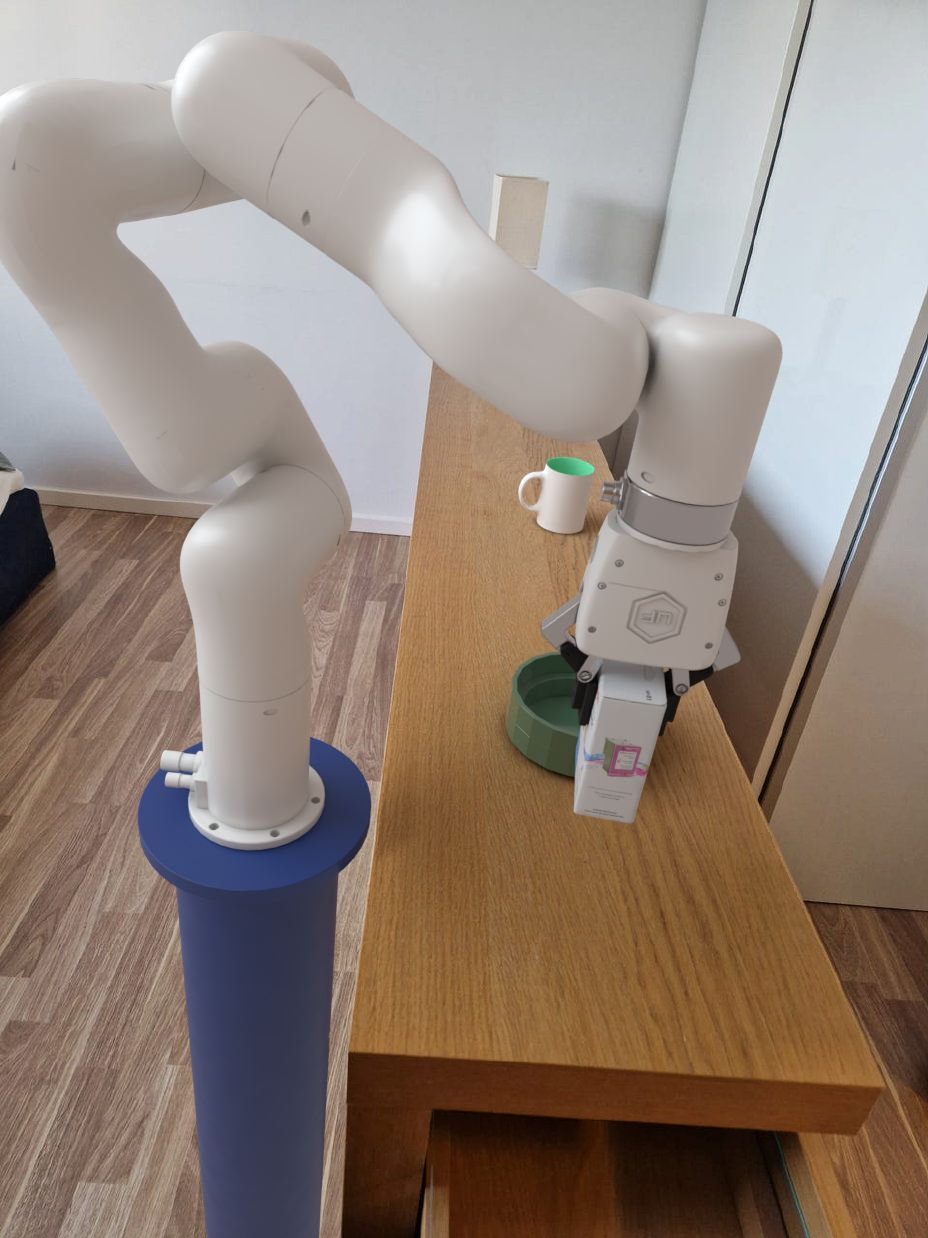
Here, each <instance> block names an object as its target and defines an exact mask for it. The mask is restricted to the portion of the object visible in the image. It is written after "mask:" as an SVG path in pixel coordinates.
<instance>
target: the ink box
mask: <svg viewBox="0 0 928 1238" xmlns="http://www.w3.org/2000/svg"><path fill="white" fill-rule="evenodd" d="M664 669H665V668H662V667H655V666H648V665H640V664H633V663H626V662H619V661H612V660H606V659H605V661H604V662H603V664H602V665H601V667H600V668H599V670H598V671H597V682H598V689H597V693H596V697H595V701H594V705H593V709H592V712H591V717H590V721H589V724H588V725H586V726H581V728H580V732H579V736H578V741H577V745H576V755H575V777H574V796H573V797H574V799H573V813H574V814H575V815H579V816H586V817H590V818H595V819H602V820H607V821H612V822H617V823H625V824H633V823H634V822H635V818H636V814H637V810H638V807H639V803H640V800H641V797H642V794H643V789H644V786H645V782H646V779H647V776H648V773H649V769H650V765H651V762H652V759H653V755H654V751H655V748H656V744H657V742H658V737H659V736H658V734H659V731H660V727H661V723H662V720H663V716H664V713H665V710H666V707H667V698H666V690H665V680H664V672H665V670H664Z"/></svg>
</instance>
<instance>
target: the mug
mask: <svg viewBox="0 0 928 1238" xmlns="http://www.w3.org/2000/svg"><path fill="white" fill-rule="evenodd" d="M595 471H596V470H595V467H594V466H593V465H592V464H591V463H589V462H587V461H585V460H582V459H580V458H576V457H570V456H556V457H551V458H549V459H547V460H546V462H545V467H544V469H543V470H541V471H533V472H532V471H531V472H530V473H527V474H526V475H525V476H524V477H523V478H522V479H521V482H520V483H519V486H518V495H517V496H518V500H519V502H520V504H521V506H522V507H523V508H524V509H525V510H527V511H529V512H531V513H537V514H536V522H537V524H538V526H539V527H541V528H543V529H544V530H547V531H550V532H553V533H557V534H564V535H566V534H569V535H571V534H577V533H579V532H581V531H582V530H583V529H584V526H585V519H586V515H587V510H588V506H589V501H590V500H589V499H590V495H591V491H592V485H593V481H594V475H595ZM533 479H539V480H540V481H541V490H540V495H539V497H538V501H537V502H536V503H535V504H532V505H531V504H527V503H526V502H525V501H524V497H523V496H524V495H523V494H524V489H525V486H526V485H527V484H528V482H529V481H531V480H533Z"/></svg>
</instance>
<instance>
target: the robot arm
mask: <svg viewBox="0 0 928 1238" xmlns="http://www.w3.org/2000/svg"><path fill="white" fill-rule="evenodd" d="M457 184H458V183H457V181H456V180H455V177H454V176H453V174H452V173H451V171H450V170H449V169H448V167H447V166H446V165H445V164H444V163H443V161H441V160H440V158H439V157H437V156H436V155H434V154H433V153H431V152H430V151H429V150H427V149H425V148H424V147H423V146H421V145H420V144H418V143H417V142H415V141H414V140H413V139H411V138H410V137H409V136H407V135H405V134H404V133H403V132H401V130H399V129H398V128H396V127H394V126H393V125H391V124H390V123H389V122H388V121H386V120H384V119H383V118H381V117H380V116H379V115H377V114H376V113H374V112H373V111H372V110H371V109H369V108H368V107H366V106H365V105H363V104H362V103H360V102H359V101H358V100H356V97H355V95H354V93H353V90H352V87H351V84H350V82H349V81H348V79H347V77H346V76H345V74H344V72H343V71H342V70H341V68H340V67H339V66H338V65H337V64H336V63H335V61H334V60H333V59H332V58H330V57H329V56H328V55H327V54H326V53H325V52H323V51H322V50H320V49H318V48H317V47H315V46H314V45H311V44H309V43H306V42H303V41H301V40H297V39H291V38H287V37H283V36H282V37H281V36H277V35H272V34H268V33H262V32H258V31H252V30H246V29H245V30H243V29H242V30H241V29H236V30H224V31H219V32H217V33H214V34H211V35H209V36H207V37H205V38H203V39H202V40H200V41H199V42H197V43H196V44H195V45H194V46H193V47H192V48H191V49H190V50H189V51H188V52H187V53H186V55H185V56H184V58H183V59H182V60H181V62H180V64H179V65H178V67H177V70H176V72H175V75H174V78H171V79H167V80H163V81H157V82H151V83H145V82H132V81H131V82H130V81H129V82H128V81H115V80H114V81H113V80H105V79H93V78H75V77H59V78H58V77H57V78H45V79H39V80H35V81H29V82H26V83H24V84H21V85H18V86H16V87H13V88H11V89H9V90H8V91H6V92H4V93H3V94H2V95H0V263H1V264H2V266H3V268H4V269H5V270H6V272H7V273H8V275H9V276H10V278H11V279H12V281H14V283H15V284H16V286H17V287H18V288H19V290H21V292H22V293H23V295H24V296H25V298H26V299H27V300H28V301H29V302H30V304H31V305H32V306H33V307H34V309H35V310H36V312H37V313H38V314H39V315H40V317H41V318H42V319H43V321H44V322H45V324H46V325H47V327H48V328H49V330H51V332H52V334H53V335H54V336H55V338H56V340H57V341H58V343H59V344H60V346H61V348H62V349H63V351H64V352H65V354H66V356H67V357H68V359H69V361H70V363H71V365H72V367H73V368H74V370H75V372H76V374H77V375H78V376H79V378H80V380H81V381H82V383H83V385H84V386H85V388H86V390H87V391H88V392H89V394H90V395H91V397H92V399H93V401H94V403H95V404H96V406H97V407H98V408H99V410H100V412H101V413H102V415H103V416H104V418H105V420H106V422H107V423H108V425H109V427H110V428H111V429H112V430H111V431H113V433H114V434H115V436H116V438H117V439H118V442H120V444H121V445H122V448H123V449H124V451H125V452H126V454H127V456H128V457H129V458H130V460H131V461H132V463H133V464H134V467H136V468H137V470H138V471H139V472H140V474H141V475H142V476H143V477H144V478H145V479H146V480H147V481H148V482H149V483H150V484H151V485H153V486H154V487H156V488H157V489H159V490H161V491H163V492H167V493H168V494H174V495H187V494H192V493H197V492H199V491H202V490H204V489H206V488H208V487H210V486H212V485H214V484H215V483H217V482H219V481H220V480H222V479H223V478H225V477H226V476H228V475H230V476H231V479H232V480H233V482H234V484H235V485H236V488H234V489H233V490H232V491H231V492H228V494H226V495H225V496H224V497H223V498H221V499H220V500H219V501H217V502H216V503H214V504H213V505H212V506H211V507H209V509H207V510H206V511H205V512H204V513H203V514H202V515H201V516H200V517H199V518H198V519H197V520H196V521H195V523H194V524H193V526H192V527H191V528H190V530H189V531H188V533H187V535H186V537H185V540H184V541H183V544H182V547H181V550H180V556H179V570H180V571H179V572H180V578H181V583H182V587H183V590H184V593H185V596H186V601H187V604H188V606H189V611H190V614H191V619H192V623H193V630H194V637H195V638H194V639H195V646H196V647H195V648H196V665H197V676H198V686H199V703H200V722H201V738H202V739H201V740H202V741H203V751H198V752H197V754H196V755H195V754H187V753H184V752H182V751H179V750H169V749H165V750H163V751H162V753H161V756H160V761H159V767H160V768H161V770H165V771H174V772H181V771H184V772H192V773H193V774H192V775H184V774H181V773H173V772H168V773H167V775H166V778H165V786H166V787H174V788H189V789H190V793H189V797H188V805H189V813H190V818H191V820H192V822H193V824H194V826H195V827H196V828H197V829H198V831H199V832H200V833H201V834H202V835H204V836H205V837H206V838H208V839H209V840H211V841H213V842H215V843H217V844H219V845H222V846H225V847H229V848H233V849H240V850H263V849H269V848H275V847H278V846H281V845H284V844H287V843H289V842H291V841H294V840H296V839H298V838H299V837H301V836H302V835H304V834H305V833H306V832H308V831H309V830H310V829H311V828H312V827H313V826H314V825H315V824H316V822H317V821H318V819H319V818H320V816H321V814H322V811H323V808H324V801H325V791H324V785H323V782H322V780H321V778H320V776H319V775H318V773H317V772H316V771H315V770H314V769H313V768H312V767H311V766H310V765H309V755H310V737H311V711H312V676H313V675H312V674H313V673H312V670H313V669H312V668H313V667H312V666H313V665H312V662H313V658H312V657H313V654H312V653H313V649H312V647H313V645H312V635H311V631H310V627H309V623H308V622H307V618H306V616H305V610H304V600H305V594H306V591H307V589H308V588H309V585H310V584H311V582H312V581H313V580H314V579H315V578H316V577H317V575H318V574H319V573H320V572H321V570H323V568H324V567H325V566H326V565H327V564H328V562H329V561H330V560H331V559H332V558H333V557H334V556H335V554H336V553H337V552H338V551H339V549H340V548H341V547H342V546H343V544H344V543H345V541H346V540H347V537H348V536H349V534H350V530H351V526H352V522H353V521H352V520H353V509H352V503H351V499H350V495H349V493H348V490H347V487H346V484H345V483H344V480H343V478H342V476H341V473H340V472H339V470H338V468H337V466H336V464H335V462H334V461H333V458H332V457H331V455H330V452H329V451H328V449H327V447H326V445H325V444H324V442H323V440H322V438H321V436H320V434H319V432H318V430H317V428H316V426H315V425H314V423H313V421H312V419H311V417H310V415H309V413H308V411H307V410H306V408H305V406H304V404H303V402H302V400H301V398H300V396H299V395H298V392H297V391H296V389H295V388H294V385H293V384H292V382H291V380H290V379H289V378H288V376H287V375H286V373H284V371H283V370H282V368H280V367H279V365H278V364H277V363H275V361H274V360H273V359H272V358H270V357H269V356H268V355H267V354H266V353H264V352H263V351H262V350H260V349H258V348H257V347H255V346H253V345H251V344H250V343H249V344H248V343H245V342H242V341H240V340H233V339H222V340H213V341H209V342H206V343H203V344H200V343H199V341H198V340H197V339H196V337H195V336H194V334H193V333H192V331H191V329H190V328H189V326H188V324H187V323H186V321H185V319H184V318H183V316H182V314H181V312H180V310H179V308H178V306H177V304H176V302H175V300H174V298H173V296H172V295H171V294H170V292H169V291H168V289H167V287H166V286H165V285H164V283H163V282H162V281H161V280H160V279H159V277H158V276H157V275H156V273H154V271H152V269H150V268H149V267H148V265H147V264H146V263H144V261H143V260H142V259H141V258H139V256H137V255H136V254H135V253H134V252H133V251H132V250H130V249H129V248H128V247H127V246H126V245H125V244H124V242H123V241H122V240H121V239H120V238H119V235H118V231H117V230H118V227H119V225H120V224H124V223H125V224H126V223H133V222H140V221H146V220H152V219H158V218H163V217H170V216H176V215H182V214H186V213H191V212H194V211H198V210H202V209H207V208H210V207H215V206H218V205H222V204H227V203H233V202H236V201H241V200H245V201H247V202H249V203H250V204H251V205H253V206H254V207H256V208H257V209H258V210H260V211H261V212H263V213H264V214H266V215H267V216H268V217H270V218H272V219H273V220H275V221H277V222H278V223H279V224H280V225H282V226H284V227H285V228H286V229H288V230H290V231H291V232H292V233H294V234H296V235H297V236H299V237H300V238H301V239H303V240H304V241H305V242H307V243H308V244H310V245H311V246H313V247H314V248H315V249H317V250H319V251H320V252H321V253H322V254H324V255H326V257H328V258H329V259H331V261H333V262H334V263H336V264H337V265H339V266H341V267H342V268H344V269H345V270H346V271H348V272H349V273H350V274H352V275H353V276H355V277H356V278H358V279H359V281H361V282H363V283H364V284H365V285H366V286H367V287H368V288H370V289H371V291H373V293H374V294H375V295H376V297H377V298H378V299H379V301H380V302H381V304H382V306H383V307H384V308H385V310H386V311H387V312H388V314H389V315H390V316H391V317H392V318H393V319H394V321H396V322H397V324H398V325H400V327H401V328H402V329H403V330H404V332H405V333H406V334H407V336H409V337H410V339H411V340H412V341H413V342H414V343H415V344H416V345H417V346H418V348H420V350H421V351H422V352H423V353H424V354H425V355H426V356H427V357H428V358H429V359H430V360H431V361H432V362H434V363H435V364H436V365H437V366H438V367H439V368H440V369H441V370H443V371H444V372H445V373H446V374H448V375H449V376H450V377H451V378H453V380H455V381H456V382H457V383H459V384H460V385H462V386H463V387H465V388H466V389H467V390H469V391H471V392H472V393H473V394H475V395H476V396H477V397H479V398H481V399H482V400H484V401H485V402H487V403H488V404H489V405H490V406H492V407H494V408H495V409H497V410H498V411H499V412H501V413H502V414H504V415H505V416H507V417H508V418H510V419H511V420H513V421H514V422H516V423H517V424H519V425H520V426H522V427H524V428H525V429H528V430H530V431H531V432H533V433H535V434H537V435H539V436H542V437H545V438H547V439H550V440H553V441H555V442H560V443H566V444H585V443H590V442H594V441H598V440H601V439H602V438H605V437H607V436H609V435H611V434H612V433H614V432H615V431H616V430H617V429H619V428H620V427H622V426H623V424H624V423H625V422H626V421H627V420H628V419H629V417H630V416H631V414H632V413H633V411H636V412H637V414H638V422H637V427H636V431H635V435H634V439H633V444H632V448H631V451H630V452H631V453H630V457H629V461H628V465H627V469H626V468H625V469H624V473H623V476H620V478H619V480H613V482H611V481H604V480H603V481H602V482H601V485H600V491H599V501H600V502H606V503H609V504H610V505H614V506H615V507H613V508H612V509H610V510H609V511H608V512H607V514H606V516H605V518H604V520H603V523H602V525H601V527H600V529H599V531H598V534H597V537H596V539H595V541H594V544H593V545H592V546H593V547H592V549H591V552H590V556H589V558H588V562H587V564H586V567H585V570H584V574H583V577H582V579H581V583H580V587H579V589H578V593H577V594H576V595H575V596H574V597H572V598H571V599H569V600H568V601H567V602H565V603H564V604H563V605H561V606H560V607H559V608H557V609H556V610H555V611H553V612H552V613H551V614H549V615H548V616H547V617H545V618H544V619H542V621H541V623H540V635H541V636H542V637H543V639H545V640H546V641H547V643H549V644H550V645H551V646H552V647H553V648H554V649H555V650H557V652H560V653H561V656H562V657H563V658H564V660H565V661H566V662H567V663H568V664H569V665H570V667H571V668H572V669H573V670H574V671H575V673H576V678H575V682H574V687H573V691H572V696H571V708H572V709H578V722H579V725H580V726H586V725H588V724H589V721H590V717H591V712H592V709H593V705H594V701H595V697H596V693H597V689H598V682H597V671H598V670H599V668H600V667H601V665H602V664H603V662H604V661H605V659H606V660H612V661H619V662H626V663H633V664H640V665H648V666H655V667H662V668H663V669H667V670H666V671H664V680H665V690H666V698H667V707H666V710H665V713H664V716H663V720H662V723H661V727H660V731H659V734H658V737H663V736H664V733H665V731H666V727H667V724H668V723H673V722H674V720H675V717H676V714H677V711H678V708H679V705H680V701H681V699H682V696H686V695H688V694H689V693H690V690H691V689H690V688H692V687H694V686H695V685H698V684H699V683H701V682H703V681H705V680H707V679H709V678H711V677H712V676H713V674H714V673H715V672H720V671H722V670H724V669H727V668H729V667H731V666H733V665H736V664H738V663H739V662H740V661H741V658H742V657H741V654H740V651H739V648H738V646H737V643H736V642H735V640H734V639H733V636H732V635H731V634H730V632H729V629H728V628H727V627H726V623H727V619H728V613H729V610H730V604H731V601H732V594H733V590H734V583H735V579H736V577H735V576H736V571H737V564H738V556H739V541H738V539H737V537H736V536H735V535H734V533H733V531H732V530H731V527H732V524H733V521H734V517H735V513H736V510H737V508H738V504H739V501H740V498H741V494H742V491H743V489H744V484H745V481H746V479H747V475H748V472H749V469H750V465H751V463H752V460H753V457H754V453H755V450H756V446H757V443H758V440H759V438H760V437H759V436H760V434H761V430H762V427H763V424H764V420H765V417H766V414H767V412H768V408H769V404H770V401H771V398H772V394H773V391H774V389H775V385H776V382H777V379H778V375H779V372H780V368H781V364H782V360H783V346H782V345H783V344H782V342H781V339H780V337H779V336H778V335H777V334H776V333H775V332H774V331H773V330H772V329H770V328H768V327H767V326H766V325H763V324H760V323H758V322H755V321H753V320H749V319H746V318H742V317H739V316H738V317H737V316H733V315H728V314H722V313H715V312H704V311H691V312H688V311H685V310H680V309H678V308H675V307H671V306H667V305H665V304H661V303H658V302H655V301H652V300H649V299H646V298H643V297H642V296H641V297H640V296H638V295H635V294H632V293H629V292H626V291H623V290H620V289H615V288H611V287H603V286H602V287H601V286H593V287H585V288H583V289H579V290H576V291H574V292H572V293H570V294H569V295H566V294H564V293H563V292H561V291H560V290H559V289H557V288H556V287H554V286H552V285H551V284H549V282H547V281H546V280H544V279H542V278H541V277H540V276H538V274H536V273H535V272H534V271H532V270H531V269H529V268H528V267H526V265H524V264H522V263H521V262H519V260H517V259H516V258H515V257H514V256H512V255H511V254H510V253H508V252H507V250H505V249H504V248H503V247H502V246H501V245H500V244H498V242H496V241H495V240H494V239H493V238H492V237H491V236H490V235H489V234H488V233H487V231H486V230H484V229H483V227H482V226H481V225H480V224H479V223H478V221H477V220H476V218H474V216H473V214H472V213H471V212H470V210H469V208H467V205H466V204H465V201H464V199H463V197H462V194H461V192H460V189H459V187H458V185H457ZM574 625H575V629H574V630H575V631H574V635H573V634H571V633H569V631H568V630H569V629H570V628H572V626H574ZM202 741H201V742H202ZM160 768H159V769H160Z"/></svg>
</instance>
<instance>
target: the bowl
mask: <svg viewBox="0 0 928 1238" xmlns="http://www.w3.org/2000/svg"><path fill="white" fill-rule="evenodd" d="M575 678H576V673H575V671H574V670H573V669H572V668H571V667H570V665H569V664H568V663H567V662H566V661H565V660H564V658H563V657H562V656H561V653H560V652H559V651H550V652H549V651H548V652H545V653H542V654H539V655H535V656H532V657H530V658H528V659H527V660H525V661H524V662H522V663H521V664H519V665H518V667H517V668H516V670H515V672H514V673H513V675H512V677H511V680H510V681H511V683H510V687H509V692H508V697H507V705H506V710H505V731H506V732H507V734H508V737H509V739H510V741H511V743H512V744H513V745H514V747H516V749H518V751H520V752H521V754H523V756H525V757H526V758H527V759H529V760H530V761H532V762H534V763H536V764H537V765H539V766H541V767H543V768H544V769H546V770H549V771H551V772H555V773H558V774H561V775H564V776H567V777H574V778H575V755H576V745H577V741H578V736H579V732H580V728H581V726H580V725H579V722H578V709H572V708H571V696H572V691H573V687H574V682H575Z"/></svg>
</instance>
